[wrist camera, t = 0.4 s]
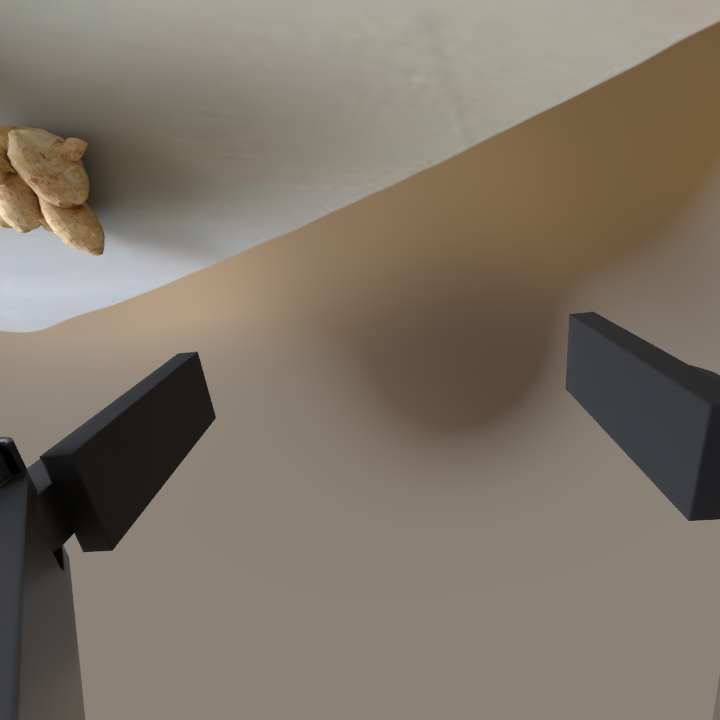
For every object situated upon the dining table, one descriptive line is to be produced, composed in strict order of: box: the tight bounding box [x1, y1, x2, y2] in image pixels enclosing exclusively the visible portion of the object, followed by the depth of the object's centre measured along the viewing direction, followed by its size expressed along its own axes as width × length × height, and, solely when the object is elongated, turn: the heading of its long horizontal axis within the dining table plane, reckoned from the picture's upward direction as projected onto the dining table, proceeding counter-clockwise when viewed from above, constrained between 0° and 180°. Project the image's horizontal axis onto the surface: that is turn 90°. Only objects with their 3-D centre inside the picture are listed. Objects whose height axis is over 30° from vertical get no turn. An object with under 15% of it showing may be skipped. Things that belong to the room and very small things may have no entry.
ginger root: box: [0, 125, 105, 256], centre depth 43 cm, size 16×16×8 cm
